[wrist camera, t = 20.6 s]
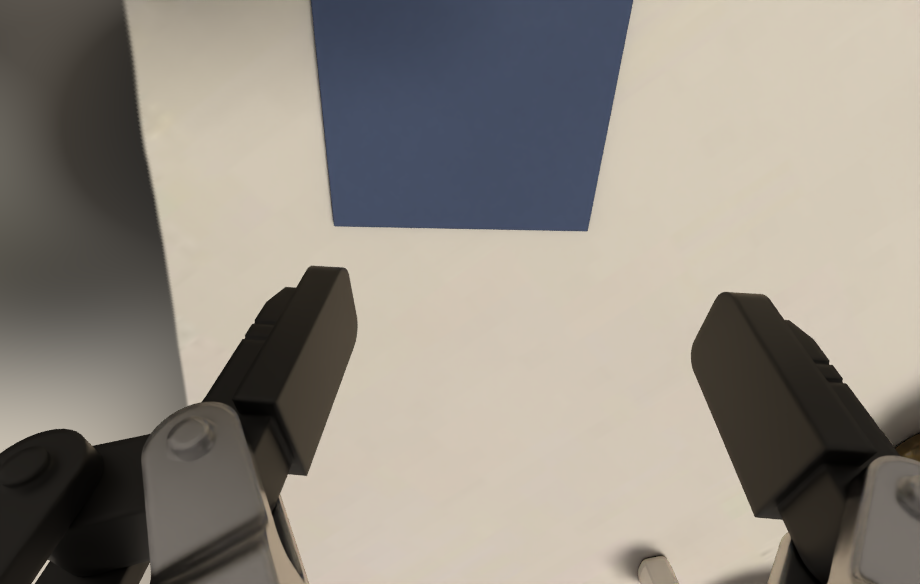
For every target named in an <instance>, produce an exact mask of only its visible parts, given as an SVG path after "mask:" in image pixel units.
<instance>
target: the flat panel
mask: <svg viewBox="0 0 920 584" xmlns="http://www.w3.org/2000/svg"><path fill="white" fill-rule="evenodd" d="M632 4H633V0H311V6H312V16H313V26H314V35H315V45H316V55H317V65H318V74H319V84H320V94H321V104H322V113H323V123H324V133H325V142H326V152H327V162H328V172H329V181H330V191H331V201H332V210H333V220H334V226H348V227H398V228H449V229H499V230H550V231H588V226H589V221H590V216H591V211H592V206H593V201H594V196H595V191H596V186H597V181H598V176H599V171H600V165H601V160H602V155H603V150H604V145H605V140H606V135H607V130H608V125H609V120H610V115H611V110H612V105H613V100H614V95H615V90H616V85H617V80H618V75H619V69H620V64H621V59H622V54H623V49H624V44H625V39H626V34H627V29H628V24H629V19H630V14H631V9H632Z"/></svg>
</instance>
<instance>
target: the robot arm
mask: <svg viewBox="0 0 920 584" xmlns="http://www.w3.org/2000/svg"><path fill="white" fill-rule="evenodd" d="M356 337H357V315H356V310H355V305H354V299H353V294H352V289H351V283H350V278H349V274H348V271H347V269H346V268H340V267H324V266H310V267H309V268H308V269H307V270H306V272H305V274H304V276H303V277H302V279H301V281H300V282H299V284H298V286H297V288H292V287H285V288H284V289H283V290H281V291H280V292H279V293H277V294H276V295H275V296H274V297H272V298H271V299H270V300H268V301H267V302H266V303H265V305H264V307H263V308H262V310H261V311H260V313H259V314H258V316H257V317H256V319H255V324H252V325H251V327H250V328H249V330H248V331H247V333H246V335H245V339H242V341H241V342H240V344H239V345H238V347H237V349H236V350H235V352H234V353H233V355H232V356H231V358H230V359H229V361H228V363H227V364H226V366H225V367H224V369H223V370H222V372H221V373H220V375H219V377H218V378H217V380H216V381H215V383H214V384H213V386H212V387H211V389H210V391H209V392H208V394H207V395H206V397H205V398H204V399H203V401H202V402H201V403H197V404H193V405H190V406H187V407H185V408H183V409H180V410H178V411H177V412H175V413H174V414H172V415H170V416H169V417H167V418H166V419H165V420H163V421H162V422H161V423H160V424H159V425H158V426H157V427H156V428H155V429H154V430H153V432H152V433H151V434H148V435H143V436H139V437H134V438H129V439H124V440H119V441H114V442H109V443H105V444H100V445H95V446H92V445H91V444H90V443H88V441H87V440H86V439H85V438H84V437H83V436H82V435H81V434H79V433H77V432H76V431H73V430H68V429H54V430H49V431H45V432H41V433H38V434H35V435H32V436H30V437H27V438H25V439H23V440H21V441H19V442H17V443H16V444H14V445H12V446H11V447H9V448H7V449H6V450H5V451H3V452H2V453H0V584H31V583H32V582H33V580H34V579H35V577H36V576H37V574H38V573H39V571H40V570H41V568H42V567H43V565H44V564H45V562H46V561H47V560H50V562H49V563H48V565H47V566H46V568H45V570H44V571H43V572H42V574H41V576H40V577H39V578H38V580H37V581H36V583H35V584H139V582H140V580H141V579H142V577H143V574H144V572H145V570H146V569H147V567H148V565H149V563H150V565H151V581H150V584H309V581H308V578H307V575H306V572H305V569H304V566H303V563H302V560H301V556H300V553H299V550H298V547H297V544H296V541H295V538H294V535H293V532H292V529H291V526H290V522H289V519H288V516H287V513H286V510H285V507H284V504H283V501H282V498H281V495H280V492H281V490H282V487H283V485H284V482H285V480H286V477H287V475H288V474H293V475H304V476H307V474H308V471H309V469H310V466H311V463H312V460H313V458H314V455H315V452H316V449H317V447H318V444H319V441H320V438H321V436H322V433H323V430H324V427H325V425H326V422H327V419H328V416H329V414H330V411H331V408H332V405H333V403H334V400H335V397H336V395H337V392H338V389H339V386H340V384H341V381H342V378H343V375H344V373H345V370H346V367H347V364H348V362H349V359H350V356H351V353H352V351H353V348H354V345H355V342H356ZM691 363H692V368H693V371H694V373H695V376H696V378H697V380H698V383H699V385H700V387H701V390H702V392H703V395H704V397H705V399H706V402H707V404H708V406H709V409H710V411H711V414H712V416H713V418H714V421H715V423H716V425H717V428H718V430H719V433H720V435H721V437H722V440H723V442H724V444H725V447H726V449H727V452H728V454H729V456H730V459H731V461H732V463H733V466H734V468H735V471H736V473H737V475H738V478H739V480H740V482H741V485H742V487H743V490H744V492H745V494H746V497H747V499H748V501H749V504H750V506H751V509H752V511H753V513H754V516H755V517H758V518H770V519H781V520H783V521H784V523H785V525H786V527H787V530H788V533H786V534H785V535H784V536H783V538H782V539H781V542H780V544H779V548H778V551H777V554H776V557H775V561H774V564H773V567H772V570H771V574H770V577H769V580H768V583H767V584H920V462H919V461H916V460H913V459H910V458H906V457H902V456H900V455H899V454H898V452H897V451H896V450H895V448H894V447H893V446H892V444H891V443H890V441H889V440H888V439H887V437H886V436H885V435H884V433H883V432H882V431H881V429H880V428H879V427H878V425H877V424H876V423H875V421H874V420H873V419H872V417H871V416H870V415H869V413H868V412H867V411H866V409H865V408H864V407H863V405H862V404H861V403H860V401H859V400H858V398H857V397H856V396H855V394H854V393H853V392H852V390H851V389H850V388H849V386H848V385H847V384H846V383H843V382H842V380H843V378H842V377H841V376H840V374H839V373H838V372H837V370H836V369H835V368H834V366H833V365H829V360H828V358H827V357H826V355H825V354H824V353H823V351H822V350H821V349H820V347H819V346H818V345H817V343H816V342H815V341H814V339H812V338H811V337H810V336H809V335H807V334H806V333H805V332H803V331H802V330H801V329H800V328H798V327H797V326H796V325H795V324H793V323H792V322H791V321H789V320H784V319H783V317H782V316H781V315H780V313H779V312H778V310H777V309H776V308H775V306H774V305H773V303H772V302H771V300H770V299H769V298H768V297H767V296H765V295H763V294H749V293H733V292H723V293H721V294H720V295H718V297H717V298H716V299H715V301H714V303H713V305H712V307H711V309H710V311H709V313H708V315H707V317H706V319H705V321H704V323H703V324H702V326H701V328H700V330H699V332H698V334H697V336H696V338H695V340H694V342H693V345H692V350H691Z"/></svg>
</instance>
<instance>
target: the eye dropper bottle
mask: <svg viewBox="0 0 920 584" xmlns="http://www.w3.org/2000/svg"><path fill="white" fill-rule="evenodd" d="M638 577H639V581H640V583H641V584H679V582H678V580H677V578H676V576H675V574H674V571H673V569H672V567H671V565H670V563H669V561H668V560H667V559H666V558H665V557H663V556H659V557H653V558H648V559H645V560H643V561H642V563H641V564H640V567H639V569H638Z"/></svg>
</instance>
